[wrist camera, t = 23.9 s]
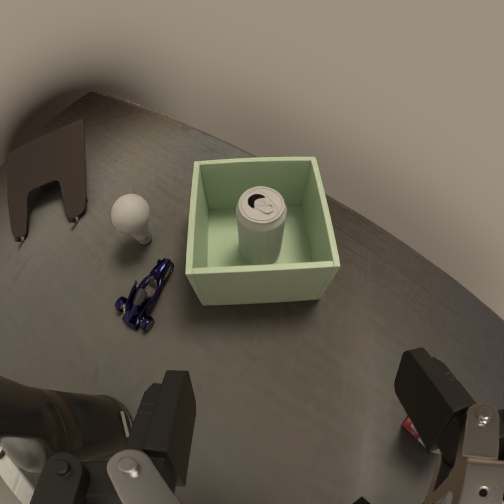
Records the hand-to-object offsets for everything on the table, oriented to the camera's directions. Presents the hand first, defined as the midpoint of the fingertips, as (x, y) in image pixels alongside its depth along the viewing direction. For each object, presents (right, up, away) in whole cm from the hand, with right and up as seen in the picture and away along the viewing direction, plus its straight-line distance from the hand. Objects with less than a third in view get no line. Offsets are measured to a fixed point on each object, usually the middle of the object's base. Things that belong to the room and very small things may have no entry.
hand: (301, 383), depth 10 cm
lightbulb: (-20, +7, +38) cm, 44 cm away
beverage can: (0, +5, +36) cm, 37 cm away
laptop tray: (-46, +17, +44) cm, 66 cm away
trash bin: (-1, +5, +37) cm, 38 cm away
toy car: (-17, -2, +34) cm, 38 cm away
